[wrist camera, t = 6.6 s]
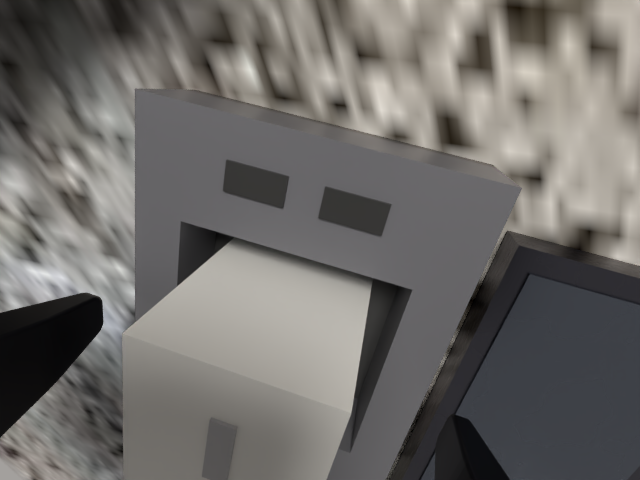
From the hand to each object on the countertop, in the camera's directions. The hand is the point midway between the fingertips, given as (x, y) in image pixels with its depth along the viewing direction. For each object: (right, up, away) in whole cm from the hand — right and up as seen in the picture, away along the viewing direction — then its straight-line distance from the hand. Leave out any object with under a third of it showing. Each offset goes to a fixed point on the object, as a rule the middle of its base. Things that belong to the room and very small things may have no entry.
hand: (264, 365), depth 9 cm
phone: (+8, -3, +3) cm, 9 cm away
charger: (+1, +1, +2) cm, 3 cm away
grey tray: (+1, +1, +3) cm, 3 cm away
